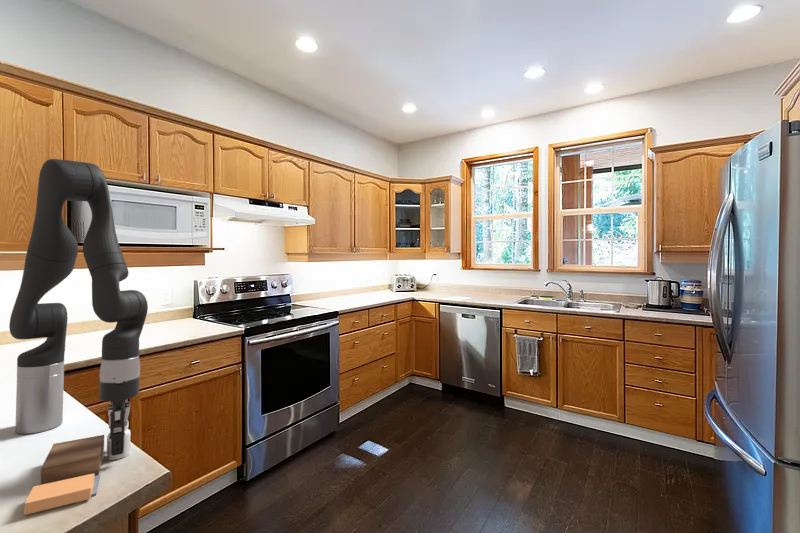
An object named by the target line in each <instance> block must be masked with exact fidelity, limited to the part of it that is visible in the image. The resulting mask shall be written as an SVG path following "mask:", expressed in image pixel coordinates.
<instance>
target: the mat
mask: <svg viewBox="0 0 800 533" xmlns="http://www.w3.org/2000/svg"><path fill="white" fill-rule="evenodd" d="M100 479H101V474H99V475H97V476H94V486H93V490H92V494H91V497H95V496H97V493H98V487H99V484H100Z"/></svg>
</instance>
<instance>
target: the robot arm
mask: <svg viewBox="0 0 800 533" xmlns="http://www.w3.org/2000/svg"><path fill="white" fill-rule="evenodd" d="M38 175H39V177H38V184H37V194H36V208H35V215H34V220H33V226H32V230H31V233H30V239H29V243H28V246H27V251H26V254H25V261H24V265H23V266H24V267H23V271H22V278H21V282H20V286H19V290H18V293H17V295H16V299H15V302H14V305H13V307H12V310H11V313H10V319H9V326H8V327H9V333H10V335H11V337H13V339H16V340H34V339H43V338H46V340H45V341H44V342H43V343H41V344H39V345H37V346H36V347H34V348H31V349H29V350H26V351H23V352H21V353H19V355H18V356H17V360H16V393H15V394H16V395H15V398H16V399H15V429H14V430H15V433H16V434H23V435H24V434H36V433H42V432H46V431H49V430H51V429H52V430H53V429H55V428H57V427H59V426H61V425H62V424H63V417H64V412H63V411H64V387H65V386H64V383H65V381H64V378H65V354H66V340H67V339H66V338H67V329H68V328H67V327H68V311H67V307H66V306H65V304H63V303H61V302H48V303H47V302H46V303H39V302H40V301H41V299H42V298H43V297H44V296H45V295H46V294H47V293H49V292H50V291H51V290H53V289H54V288H56V287H57V286H58V285H59V284H60V283H62V282H63V281H64V280H65V279H66V278H68V277H69V276H70V275H71V273H72V272H73V271H74V269H75V264H76V261H77V258H78V254H79V245H78V241H77V239H76V237H75V236H74V234H73V233H72V231H71V230H70V228H69V227H68V225H67V224H66V222H65V220H64V218H63V208H64V205H65V203H66V202H67V201H68V202H87V204H88V205H89V209H90V211H91V220H90V223H89V227H88V230H87V232H86V234H85V237H84V240H83V243H82V254H83V258H84V260H85V263H86V265H87V268H88V271H89V274H90V276H91V304H92V310H93V311H94V314H95V315H96V317H97V318H98V319H100V320H101V321H103V322H104V323H112V324H113V323H116V325H115V327H114V329H113V330H111V331H109V332H108V333H105V335H103V337H102V341H101V362H100V366H99V393H98V396H99V397H98V398H99V400H100V401H101V402H111V404H109V407H108V410H107V415H108V428H109V431H110V432H109V433H110V436H109V438H110V440H111V455H113V456H114V455H119V454H122V453H123V451H124V435H125V427H126V426H127V425H128V421H129V415H130V411H131V410H130V409H131V401H128V400H129V399H133V398H136V396H138V395H139V393H140V387H141V386H140V382H141V381H140V379H141V378H140V377H141V362H140V337H141V334H142V331H143V328H144V325H145V322H146V318H147V316H148V308H149V307H148V306H149V305H148V300H147V298H146V296H145V294H143V293H142V292H141V291H140V290H135V289H127V290H126V289H125V290H121V289H120V282H122V281H124V280H126V279H127V278H128V277H129V273H130V272H129V268H128V266H127V263H126V260H125V257H124V254H123V252H122V249H121V246H120V243H119V240H118V236H117V232H116V226H115V220H114V215H113V214H114V213H113V207H112V203H111V196H110V191H109V186H108V182H107V179H106V176H105V174H104V172H103V170H102V168H100V167H99V166H98V165H97V164H94V163H91V162H84V161H77V160H70V159H69V160H67V159H61V158H60V159H58V158H50V159H47V160H46V161H45V162H44V163H42V166H41V168H40V171H39V174H38ZM124 420H125V421H124ZM118 427H121V428H122V429H121V432H117V433H114V429H115V428H118Z"/></svg>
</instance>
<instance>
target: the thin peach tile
mask: <svg viewBox="0 0 800 533" xmlns="http://www.w3.org/2000/svg"><path fill="white" fill-rule="evenodd" d="M94 474H95V473H93V474H89V475H84V476H79V477H75V478H70V479H66V480H61V481H57V482H52V483H47V484H43V485H41V484H40V485H39V484H38V485H34V486H33V487H32V488H31V490H30V492H29V495H28V497H27V498H26V500H25V502H24V516H27V515H31V514H35V513H38V512H39V513H40V512H43V511H47V510H51V509H54V508H58V507H62V506H63V507H64V506H67V505H71V504H75V503H79V502H83V501H86V500H87V501H88V500H91V498H92V496H91V494H92V490H93V486H94Z"/></svg>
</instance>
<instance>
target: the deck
mask: <svg viewBox="0 0 800 533" xmlns="http://www.w3.org/2000/svg"><path fill="white" fill-rule="evenodd" d="M104 452H105V434H101V435H96V436H89V437H84V438H80V439H79V438H78V439H73V440H68V441H62V442H58V443H53V445H52V446H51V448H50V450H49V452H48V454H47V456H46V458H45V460H44V462H43V464H42V466H41V467H40V468H41V469H40V485H43V484H47V483H52V482H57V481H61V480H66V479H70V478H75V477H79V476H84V475H89V474H93V473H95V474H94V476H97V475H100V471H101V466H102V461H103V458H102V457H104Z"/></svg>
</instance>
